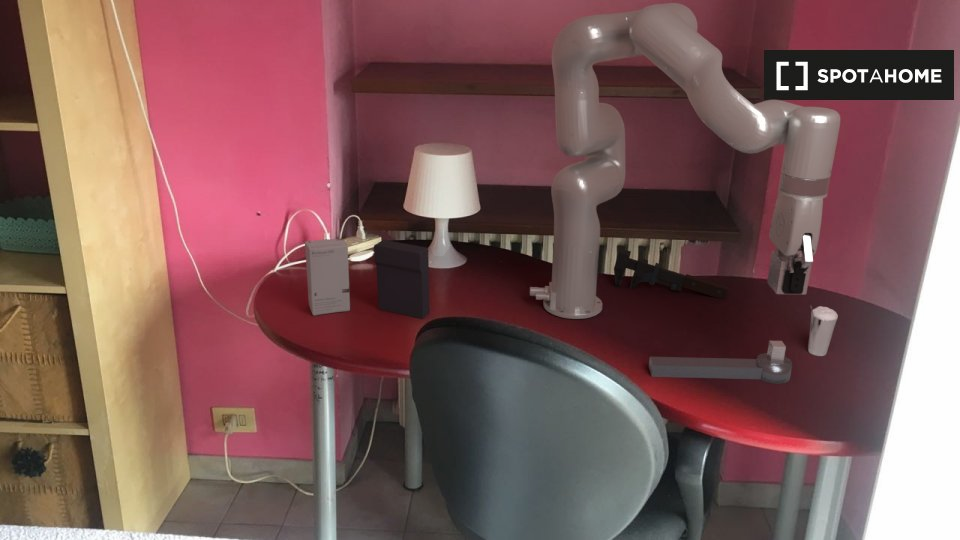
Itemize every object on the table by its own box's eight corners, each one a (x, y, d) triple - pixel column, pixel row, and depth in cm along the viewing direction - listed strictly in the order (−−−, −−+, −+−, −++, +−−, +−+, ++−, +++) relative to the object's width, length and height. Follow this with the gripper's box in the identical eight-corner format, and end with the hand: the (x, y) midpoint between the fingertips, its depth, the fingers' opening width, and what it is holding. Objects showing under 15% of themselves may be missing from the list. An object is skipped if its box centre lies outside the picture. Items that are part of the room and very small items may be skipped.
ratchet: (652, 381, 136) (656, 349, 133) (647, 364, 141) (650, 333, 139) (794, 384, 135) (800, 352, 132) (783, 367, 140) (788, 336, 138)
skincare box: (312, 316, 158) (306, 250, 153) (308, 305, 164) (302, 240, 158) (352, 310, 161) (348, 245, 155) (347, 299, 166) (342, 235, 161)
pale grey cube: (776, 294, 129) (781, 261, 127) (767, 282, 133) (772, 250, 131) (806, 294, 129) (812, 261, 126) (795, 282, 133) (801, 251, 131)
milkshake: (795, 347, 147) (804, 300, 144) (822, 346, 148) (831, 299, 144) (807, 358, 143) (816, 310, 139) (834, 357, 144) (844, 309, 140)
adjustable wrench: (716, 318, 170) (608, 284, 174) (716, 313, 172) (609, 280, 176) (729, 286, 166) (619, 252, 170) (729, 281, 169) (620, 248, 173)
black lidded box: (431, 312, 161) (430, 246, 155) (421, 320, 157) (420, 253, 151) (387, 302, 165) (384, 238, 159) (376, 310, 161) (373, 244, 155)
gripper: (764, 170, 132) (750, 267, 139) (798, 199, 116) (780, 307, 123) (808, 171, 132) (791, 268, 139) (848, 200, 116) (827, 307, 123)
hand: (786, 285), depth 131 cm, fingers closed on pale grey cube, 5 cm apart
